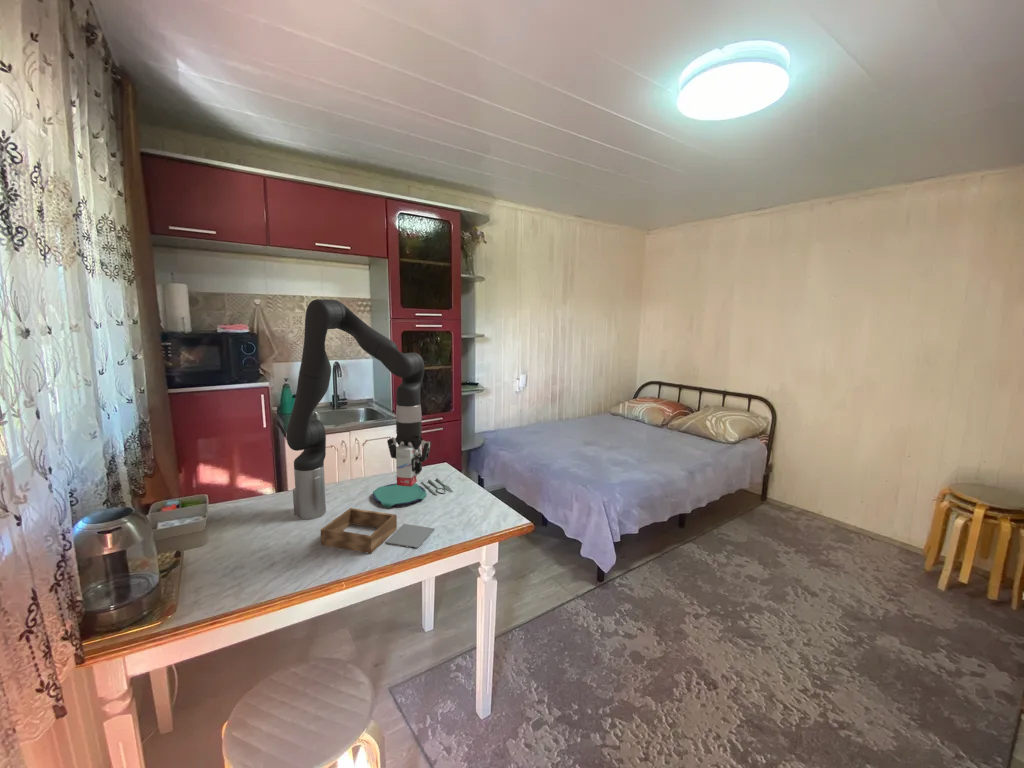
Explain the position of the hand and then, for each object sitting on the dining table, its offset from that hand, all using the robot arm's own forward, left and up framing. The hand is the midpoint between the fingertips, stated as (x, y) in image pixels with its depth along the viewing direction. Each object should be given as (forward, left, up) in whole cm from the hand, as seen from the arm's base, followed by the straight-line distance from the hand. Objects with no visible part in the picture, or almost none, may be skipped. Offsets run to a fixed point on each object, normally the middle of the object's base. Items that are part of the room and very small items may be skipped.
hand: (409, 472), depth 130 cm
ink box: (0, 0, -3) cm, 3 cm away
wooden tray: (-15, -4, -21) cm, 27 cm away
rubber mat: (0, 0, -21) cm, 21 cm away
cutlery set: (-14, +30, -22) cm, 40 cm away
